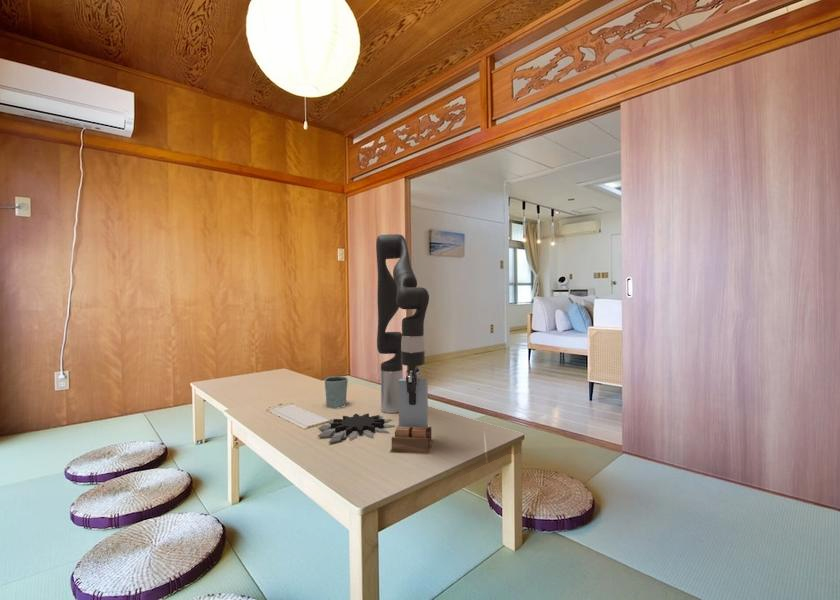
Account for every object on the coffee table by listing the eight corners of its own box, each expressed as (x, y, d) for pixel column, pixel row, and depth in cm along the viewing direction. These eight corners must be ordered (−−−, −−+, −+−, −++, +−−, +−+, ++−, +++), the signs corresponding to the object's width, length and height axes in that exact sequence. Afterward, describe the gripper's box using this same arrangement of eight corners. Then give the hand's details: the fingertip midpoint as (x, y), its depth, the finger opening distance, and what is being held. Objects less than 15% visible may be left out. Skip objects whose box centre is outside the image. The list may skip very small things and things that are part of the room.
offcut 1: (397, 445, 121) (397, 426, 121) (410, 446, 120) (410, 426, 120) (395, 449, 118) (395, 429, 118) (408, 449, 117) (408, 430, 117)
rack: (397, 442, 127) (396, 425, 127) (433, 443, 126) (432, 427, 126) (389, 457, 115) (389, 439, 115) (429, 459, 114) (428, 440, 114)
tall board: (400, 424, 126) (400, 378, 125) (427, 425, 125) (427, 379, 124) (398, 427, 123) (398, 380, 123) (426, 428, 122) (426, 381, 121)
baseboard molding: (300, 432, 139) (329, 424, 148) (300, 424, 139) (329, 416, 148) (265, 413, 162) (292, 407, 170) (265, 406, 161) (292, 401, 170)
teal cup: (341, 401, 178) (341, 375, 178) (352, 406, 170) (352, 378, 170) (320, 405, 171) (320, 378, 171) (331, 410, 163) (330, 382, 163)
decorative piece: (296, 426, 133) (353, 404, 159) (296, 437, 133) (353, 414, 159) (364, 442, 118) (415, 416, 144) (364, 455, 118) (415, 426, 144)
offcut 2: (413, 446, 120) (413, 427, 120) (426, 446, 119) (425, 427, 119) (411, 450, 117) (411, 430, 117) (424, 450, 116) (424, 430, 116)
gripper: (405, 346, 131) (405, 396, 131) (397, 352, 117) (397, 409, 117) (427, 346, 130) (427, 397, 130) (421, 353, 116) (422, 410, 116)
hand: (413, 402), depth 124 cm, fingers closed on tall board, 3 cm apart
